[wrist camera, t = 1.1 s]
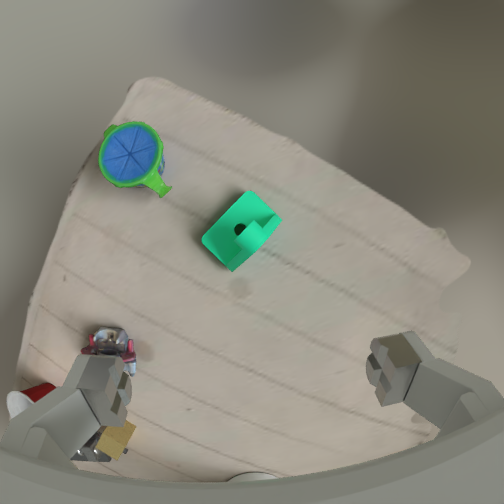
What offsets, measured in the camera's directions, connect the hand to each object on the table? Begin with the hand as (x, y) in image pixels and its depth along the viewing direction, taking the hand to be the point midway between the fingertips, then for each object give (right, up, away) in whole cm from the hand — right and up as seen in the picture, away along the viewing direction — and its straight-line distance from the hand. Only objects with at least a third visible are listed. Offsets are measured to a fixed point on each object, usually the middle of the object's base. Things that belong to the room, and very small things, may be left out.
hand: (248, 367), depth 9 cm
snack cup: (-19, +19, +44) cm, 52 cm away
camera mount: (-2, +7, +45) cm, 46 cm away
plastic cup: (-45, -28, +44) cm, 69 cm away
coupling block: (-27, -33, +45) cm, 62 cm away
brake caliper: (-26, -15, +45) cm, 54 cm away
